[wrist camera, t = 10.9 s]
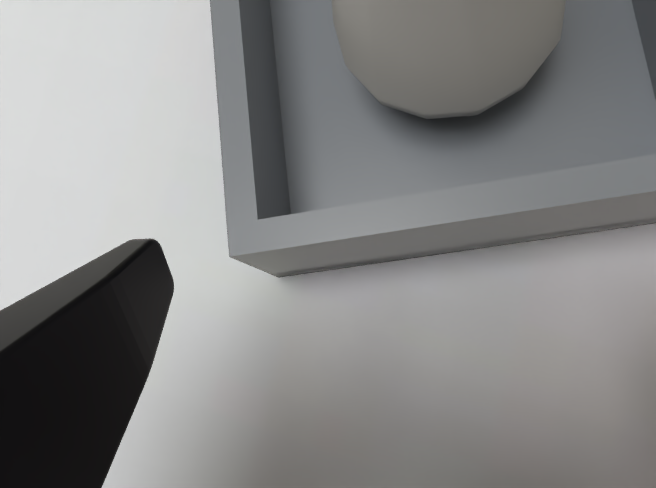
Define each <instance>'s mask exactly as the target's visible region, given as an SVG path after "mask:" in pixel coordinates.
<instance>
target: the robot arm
mask: <svg viewBox="0 0 656 488" xmlns="http://www.w3.org/2000/svg"><path fill="white" fill-rule="evenodd" d="M173 291H174V282H173V278H172V275H171V272H170V269H169V267H168V264H167V261H166V259H165V256H164V253H163V250H162V248H161V246H160V244H159V243H158V241H156V240H154V239H133V240H129V241H127V242H125V243H124V244H122V245H120V246H118V247H116V248H114V249H113V250H111V251H109V252H107V253H105V254H103V255H102V256H100V257H98V258H96V259H94V260H92V261H91V262H89V263H87V264H85V265H83V266H81V267H80V268H78V269H76V270H74V271H72V272H70V273H69V274H67V275H65V276H63V277H61V278H59V279H58V280H56V281H54V282H52V283H50V284H48V285H47V286H45V287H43V288H41V289H39V290H37V291H36V292H34V293H32V294H30V295H28V296H26V297H25V298H23V299H21V300H19V301H17V302H15V303H14V304H12V305H10V306H8V307H6V308H4V309H3V310H1V311H0V488H102V485H103V483H104V481H105V478H106V476H107V474H108V471H109V469H110V466H111V464H112V462H113V459H114V457H115V454H116V452H117V450H118V447H119V445H120V443H121V440H122V438H123V435H124V433H125V431H126V428H127V426H128V423H129V421H130V419H131V416H132V414H133V412H134V409H135V407H136V404H137V402H138V400H139V397H140V395H141V393H142V390H143V388H144V385H145V383H146V380H147V378H148V375H149V372H150V370H151V367H152V364H153V361H154V357H155V354H156V351H157V347H158V344H159V340H160V337H161V334H162V330H163V327H164V323H165V320H166V317H167V313H168V310H169V306H170V303H171V300H172V296H173Z"/></svg>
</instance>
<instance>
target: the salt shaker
mask: <svg viewBox="0 0 656 488" xmlns="http://www.w3.org/2000/svg"><path fill="white" fill-rule="evenodd" d="M565 3H566V0H332V12H333V23H334V26H335V30H336V33H337V37H338V40H339V44H340V48H341V51H342V55H343V58H344V62H345V65H346V66H347V67H348V69H349V70H350V71H351V72H352V73H353V75H354V76H355V77H356V78H357V79H358V80H359V81H360V82H361V83H362V84H363V85H364V86H365V87H366V88H367V89H368V90H369V92H370V93H371V94H372V95H373V96H374V97H375V98H376V99H377V100H378V101H379V102H380V103H381V104H382V105H384V106H388V107H391V108H394V109H397V110H400V111H403V112H406V113H409V114H412V115H415V116H419V117H422V118H425V119H434V118H447V117H459V116H474V115H479V114H480V113H482V112H484V111H486V110H487V109H489V108H491V107H492V106H494V105H496V104H498V103H499V102H501V101H503V100H504V99H506V98H508V97H509V96H511V95H513V94H515V93H516V92H518V91H520V90H521V89H523V88H524V86H525V85H526V84H527V83H528V81H529V80H530V79H531V77H532V76H533V75H534V74H535V72H536V71H537V70H538V68H539V67H540V66H541V65H542V63H543V62H544V61H545V59H546V58H547V57H548V56H549V54H550V53H551V52H552V50H553V49H554V48H555V46H556V45H557V44H558V42H559V41H560V39H561V32H562V25H563V18H564V10H565Z"/></svg>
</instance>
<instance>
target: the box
mask: <svg viewBox="0 0 656 488" xmlns="http://www.w3.org/2000/svg"><path fill="white" fill-rule="evenodd" d="M210 7H211V20H212V33H213V47H214V60H215V74H216V87H217V100H218V114H219V127H220V140H221V154H222V167H223V180H224V194H225V207H226V221H227V234H228V247H229V257H231V258H234V259H236V260H238V261H241V262H243V263H246V264H248V265H250V266H253V267H255V268H257V269H260V270H262V271H265V272H267V273H269V274H272V275H274V276H277V277H284V276H291V275H298V274H305V273H312V272H319V271H326V270H333V269H340V268H346V267H353V266H360V265H367V264H374V263H381V262H388V261H395V260H402V259H409V258H416V257H423V256H430V255H437V254H443V253H450V252H457V251H464V250H471V249H478V248H485V247H492V246H499V245H506V244H513V243H520V242H527V241H534V240H541V239H547V238H554V237H561V236H568V235H575V234H582V233H589V232H596V231H603V230H610V229H617V228H624V227H631V226H638V225H644V224H651V223H656V0H566V3H565V10H564V18H563V25H562V32H561V39H560V41H559V42H558V44H557V45H556V46H555V48H554V49H553V50H552V52H551V53H550V54H549V56H548V57H547V58H546V59H545V61H544V62H543V63H542V65H541V66H540V67H539V68H538V70H537V71H536V72H535V74H534V75H533V76H532V77H531V79H530V80H529V81H528V83H527V84H526V85H525V86H524V88H523V89H521V90H520V91H518V92H516V93H515V94H513V95H511V96H509V97H508V98H506V99H504V100H503V101H501V102H499V103H498V104H496V105H494V106H492V107H491V108H489V109H487V110H486V111H484V112H482V113H480V114H479V115H474V116H459V117H447V118H434V119H425V118H422V117H419V116H415V115H412V114H409V113H406V112H403V111H400V110H397V109H394V108H391V107H388V106H384V105H382V104H381V103H380V102H379V101H378V100H377V99H376V98H375V97H374V96H373V95H372V94H371V93H370V92H369V90H368V89H367V88H366V87H365V86H364V85H363V84H362V83H361V82H360V81H359V80H358V79H357V78H356V77H355V76H354V75H353V73H352V72H351V71H350V70H349V69H348V67H347V66H346V65H345V62H344V58H343V55H342V51H341V48H340V44H339V40H338V37H337V33H336V30H335V26H334V23H333V12H332V0H210Z"/></svg>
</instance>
